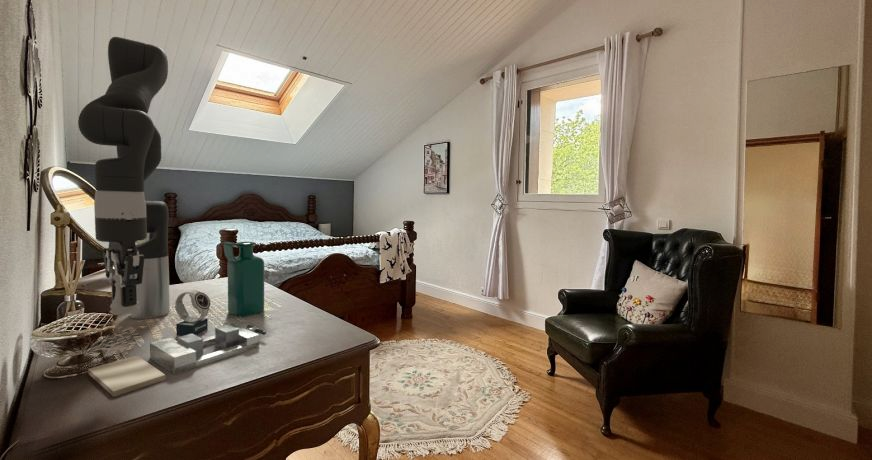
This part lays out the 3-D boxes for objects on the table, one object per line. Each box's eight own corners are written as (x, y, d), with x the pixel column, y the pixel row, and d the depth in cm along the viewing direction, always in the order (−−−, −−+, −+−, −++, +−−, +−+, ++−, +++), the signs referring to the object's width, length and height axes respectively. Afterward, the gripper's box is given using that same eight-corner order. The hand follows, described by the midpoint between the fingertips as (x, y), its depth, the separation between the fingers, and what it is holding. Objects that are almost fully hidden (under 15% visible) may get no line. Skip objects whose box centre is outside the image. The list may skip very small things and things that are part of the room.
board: (88, 373, 74) (88, 368, 74) (137, 360, 81) (137, 355, 81) (113, 396, 67) (113, 391, 66) (165, 379, 73) (165, 374, 73)
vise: (150, 358, 82) (149, 338, 82) (245, 331, 100) (245, 315, 99) (174, 374, 75) (174, 353, 75) (271, 342, 93) (271, 325, 93)
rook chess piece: (121, 308, 75) (119, 268, 74) (144, 308, 75) (143, 269, 74) (103, 315, 70) (101, 273, 70) (128, 315, 71) (127, 274, 70)
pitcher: (252, 306, 121) (252, 239, 119) (266, 311, 116) (267, 241, 114) (220, 313, 113) (220, 241, 111) (234, 319, 108) (234, 244, 106)
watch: (200, 337, 94) (199, 295, 93) (170, 335, 95) (169, 293, 94) (214, 329, 100) (214, 289, 99) (186, 327, 100) (185, 287, 99)
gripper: (83, 213, 72) (86, 300, 73) (109, 218, 64) (112, 315, 65) (131, 212, 78) (133, 293, 80) (160, 217, 70) (162, 306, 72)
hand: (124, 302), depth 73 cm, fingers closed on rook chess piece, 4 cm apart
